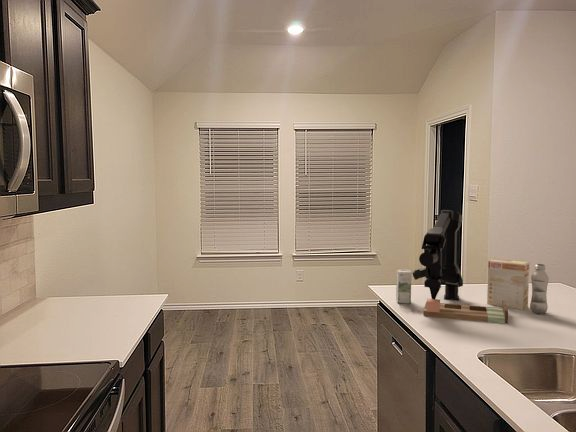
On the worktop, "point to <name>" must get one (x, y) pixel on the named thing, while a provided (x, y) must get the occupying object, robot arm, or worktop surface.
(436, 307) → the coral block
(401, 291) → the syrup box
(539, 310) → the plastic bottle
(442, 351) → the worktop surface
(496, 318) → the board
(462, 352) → the worktop surface
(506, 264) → the coffeecake box
